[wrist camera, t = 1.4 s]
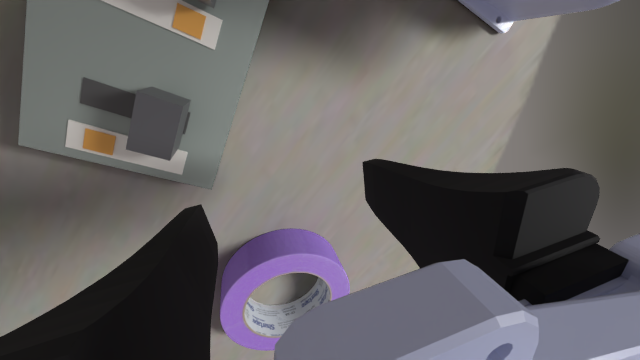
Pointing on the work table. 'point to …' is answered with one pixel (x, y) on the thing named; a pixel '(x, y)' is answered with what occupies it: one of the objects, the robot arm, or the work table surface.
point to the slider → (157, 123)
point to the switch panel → (135, 77)
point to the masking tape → (270, 262)
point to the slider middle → (209, 2)
